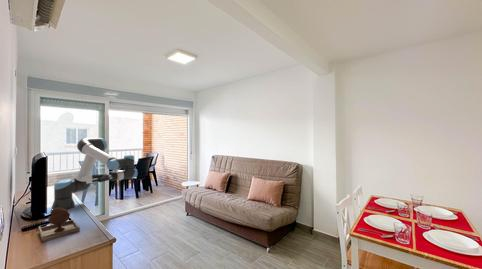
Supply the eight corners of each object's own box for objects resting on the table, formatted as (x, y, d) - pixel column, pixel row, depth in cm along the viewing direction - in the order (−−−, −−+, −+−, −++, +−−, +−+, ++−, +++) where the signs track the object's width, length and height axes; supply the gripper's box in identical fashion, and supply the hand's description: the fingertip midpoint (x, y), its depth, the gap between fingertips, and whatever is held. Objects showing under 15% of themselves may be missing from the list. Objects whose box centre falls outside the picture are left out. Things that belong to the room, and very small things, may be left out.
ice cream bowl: (57, 235, 129) (57, 211, 129) (43, 233, 131) (43, 209, 131) (74, 227, 139) (74, 205, 139) (61, 226, 142) (61, 204, 141)
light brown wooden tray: (39, 232, 134) (38, 227, 134) (73, 223, 148) (73, 219, 148) (42, 242, 123) (42, 237, 123) (79, 231, 136) (79, 226, 136)
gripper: (122, 182, 159) (88, 188, 143) (111, 178, 175) (79, 182, 159) (122, 173, 159) (88, 177, 143) (111, 169, 175) (79, 172, 159)
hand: (83, 180), depth 151 cm, fingers open, 13 cm apart
